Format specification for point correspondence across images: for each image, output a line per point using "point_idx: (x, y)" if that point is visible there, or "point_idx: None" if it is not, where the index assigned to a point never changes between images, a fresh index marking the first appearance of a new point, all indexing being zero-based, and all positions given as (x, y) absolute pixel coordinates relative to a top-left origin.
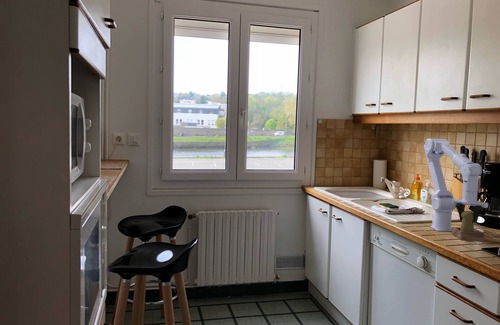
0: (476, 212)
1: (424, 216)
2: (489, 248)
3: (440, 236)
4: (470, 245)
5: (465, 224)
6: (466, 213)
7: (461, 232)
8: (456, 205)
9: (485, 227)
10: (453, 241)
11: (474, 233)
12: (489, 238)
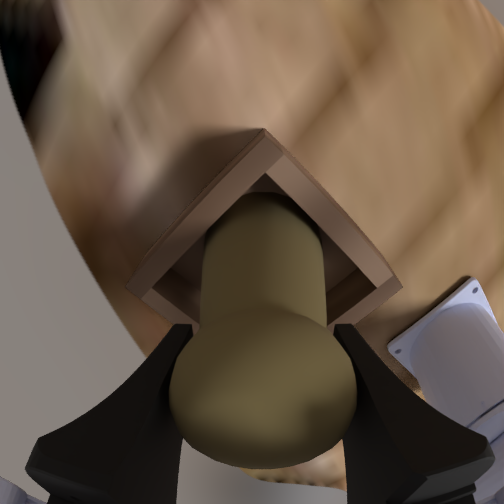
0: (100, 416)
1: None
2: (34, 80)
3: (426, 129)
4: (137, 28)
5: (262, 259)
6: (255, 370)
7: (263, 138)
8: (484, 459)
9: (286, 476)
10: (286, 33)
11: (174, 228)
12: None
